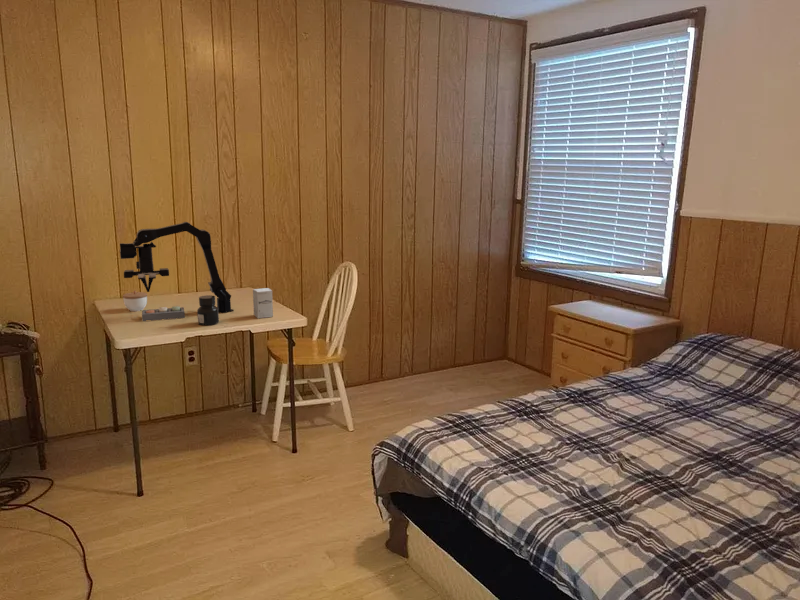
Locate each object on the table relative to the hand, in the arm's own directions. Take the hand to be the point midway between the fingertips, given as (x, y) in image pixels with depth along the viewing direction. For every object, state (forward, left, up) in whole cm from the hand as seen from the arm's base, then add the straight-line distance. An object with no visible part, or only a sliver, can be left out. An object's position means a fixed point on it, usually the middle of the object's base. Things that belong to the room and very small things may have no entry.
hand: (148, 291), depth 276 cm
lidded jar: (+20, -4, -13) cm, 24 cm away
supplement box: (-36, -36, -13) cm, 52 cm away
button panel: (-3, -5, -12) cm, 14 cm away
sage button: (-6, -10, -10) cm, 15 cm away
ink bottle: (-28, -12, -13) cm, 33 cm away
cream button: (-3, -5, -10) cm, 11 cm away
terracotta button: (0, 0, -11) cm, 11 cm away
